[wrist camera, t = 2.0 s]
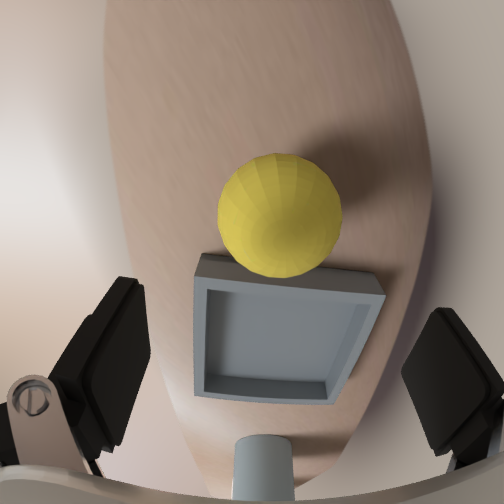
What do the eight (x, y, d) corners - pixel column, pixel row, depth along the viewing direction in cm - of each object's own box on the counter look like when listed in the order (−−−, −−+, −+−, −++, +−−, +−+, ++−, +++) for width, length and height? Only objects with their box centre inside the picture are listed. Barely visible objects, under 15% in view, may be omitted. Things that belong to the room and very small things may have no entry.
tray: (201, 253, 25) (193, 276, 22) (373, 272, 26) (386, 295, 22) (198, 371, 32) (194, 395, 29) (328, 380, 32) (333, 404, 29)
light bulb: (212, 199, 23) (184, 266, 14) (257, 122, 20) (256, 136, 11) (287, 240, 24) (303, 322, 15) (335, 170, 22) (386, 218, 13)
